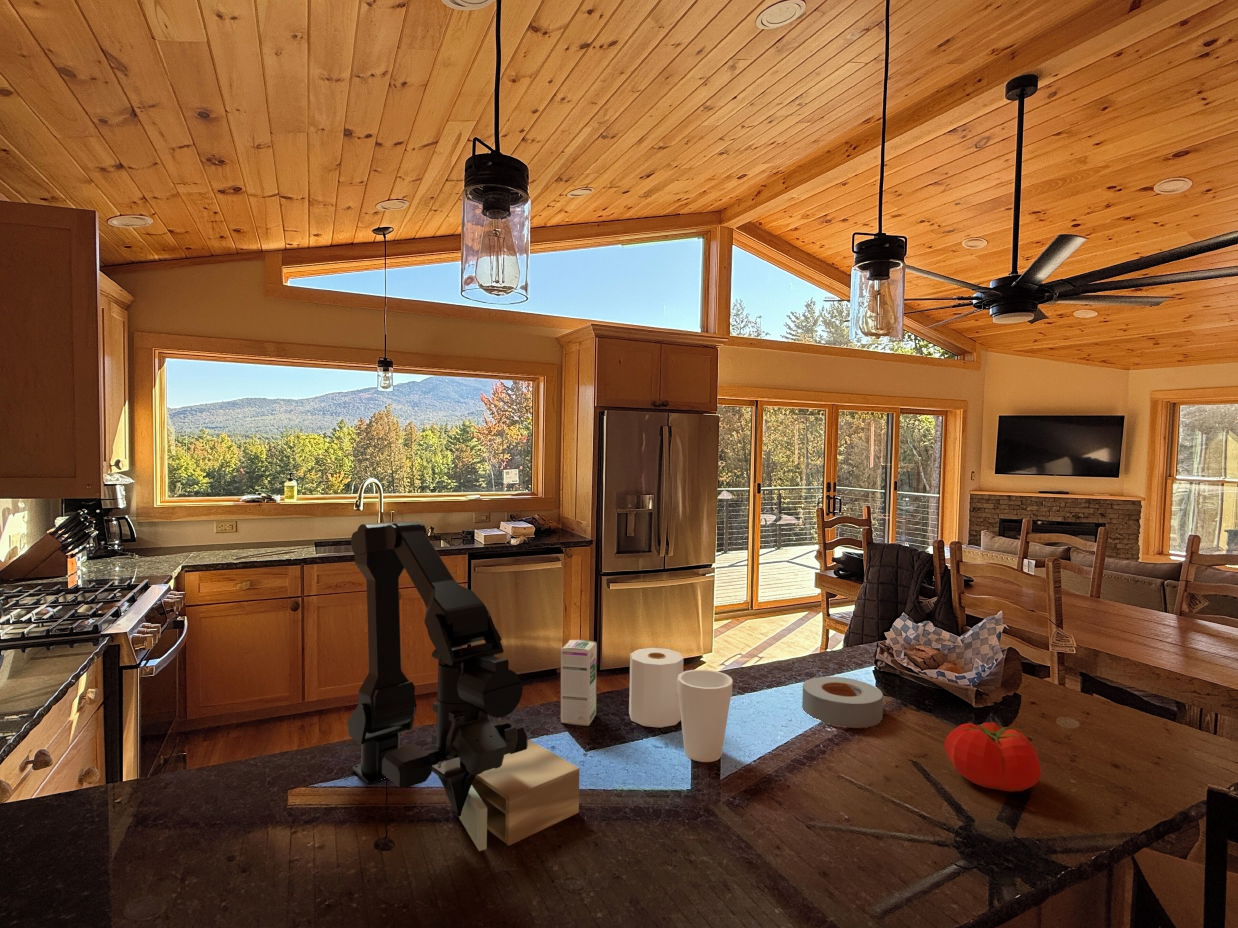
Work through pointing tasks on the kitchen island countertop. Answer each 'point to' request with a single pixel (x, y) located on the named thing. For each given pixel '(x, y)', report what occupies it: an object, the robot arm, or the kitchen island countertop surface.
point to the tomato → (993, 756)
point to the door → (475, 819)
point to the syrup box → (578, 682)
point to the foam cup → (704, 712)
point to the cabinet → (528, 793)
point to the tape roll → (842, 701)
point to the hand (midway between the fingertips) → (457, 815)
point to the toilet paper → (655, 687)
